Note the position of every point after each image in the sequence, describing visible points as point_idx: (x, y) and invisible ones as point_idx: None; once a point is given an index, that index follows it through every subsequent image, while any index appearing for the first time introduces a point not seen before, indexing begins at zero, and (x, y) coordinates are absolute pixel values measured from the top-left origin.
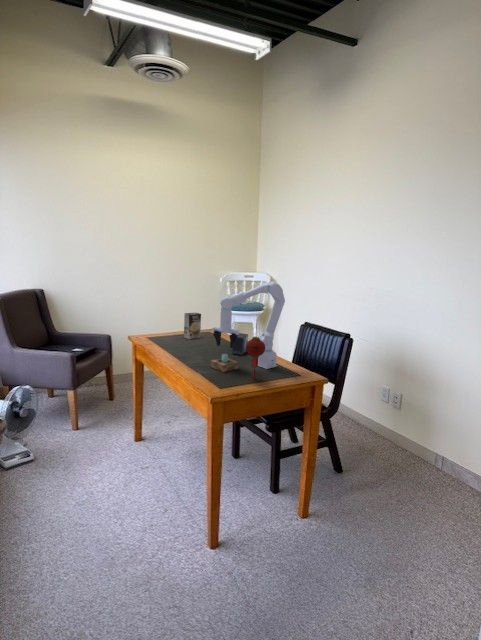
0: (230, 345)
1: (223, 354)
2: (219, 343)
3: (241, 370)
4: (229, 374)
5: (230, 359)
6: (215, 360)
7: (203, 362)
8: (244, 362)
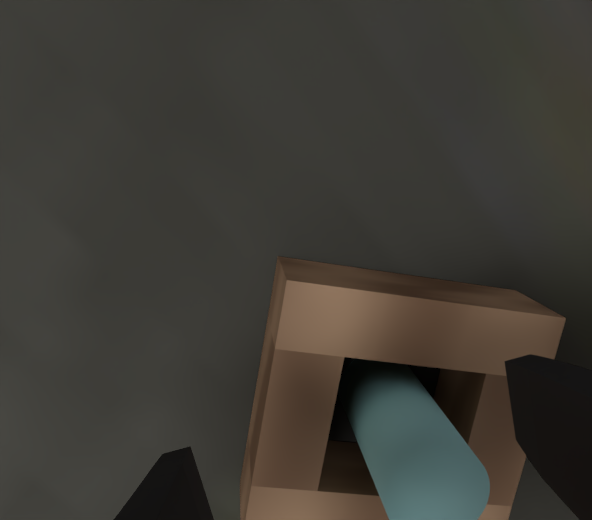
0: (563, 489)
1: (418, 509)
2: (196, 509)
3: (582, 315)
4: (553, 502)
5: (412, 312)
6: (288, 500)
7: (33, 425)
8: (429, 6)
